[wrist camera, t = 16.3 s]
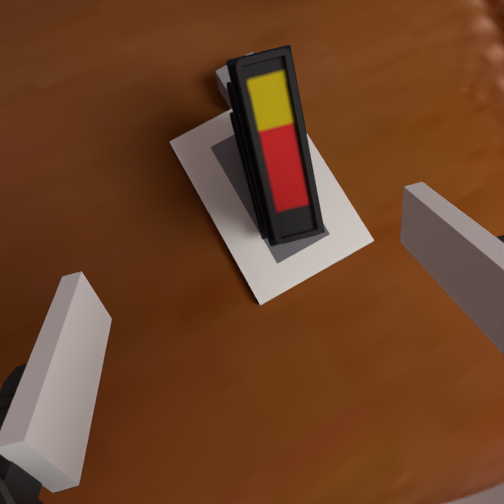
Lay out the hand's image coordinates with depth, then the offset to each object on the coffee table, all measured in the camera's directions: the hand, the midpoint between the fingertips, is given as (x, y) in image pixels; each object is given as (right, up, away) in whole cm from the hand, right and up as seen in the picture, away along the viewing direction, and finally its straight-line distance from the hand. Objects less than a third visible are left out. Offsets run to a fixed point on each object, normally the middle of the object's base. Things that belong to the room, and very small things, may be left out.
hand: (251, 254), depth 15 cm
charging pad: (+1, +7, +20) cm, 22 cm away
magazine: (+2, +6, +19) cm, 20 cm away
